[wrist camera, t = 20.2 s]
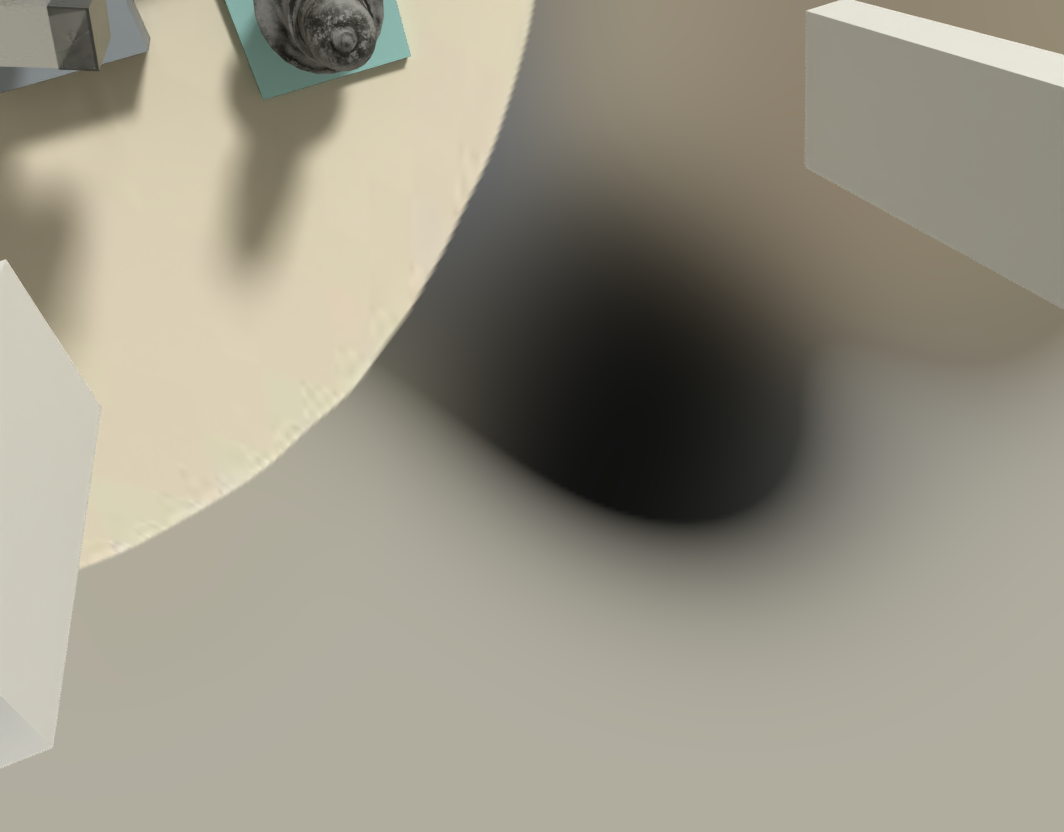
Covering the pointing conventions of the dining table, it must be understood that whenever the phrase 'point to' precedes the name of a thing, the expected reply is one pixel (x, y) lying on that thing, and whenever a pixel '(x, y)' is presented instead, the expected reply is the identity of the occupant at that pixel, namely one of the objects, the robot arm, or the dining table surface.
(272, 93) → the coaster
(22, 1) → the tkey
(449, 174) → the dining table surface
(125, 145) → the dining table surface
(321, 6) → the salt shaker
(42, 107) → the dining table surface
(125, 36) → the block
